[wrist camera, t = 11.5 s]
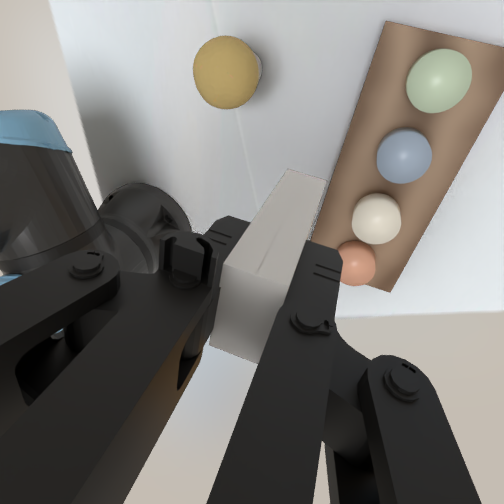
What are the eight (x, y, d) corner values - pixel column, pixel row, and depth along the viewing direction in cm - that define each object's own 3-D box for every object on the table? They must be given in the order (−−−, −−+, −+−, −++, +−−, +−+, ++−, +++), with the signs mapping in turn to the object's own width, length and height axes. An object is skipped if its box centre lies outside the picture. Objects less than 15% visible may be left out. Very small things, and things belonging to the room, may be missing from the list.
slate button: (369, 167, 38) (369, 175, 36) (388, 121, 35) (388, 127, 33) (415, 180, 37) (417, 189, 35) (438, 134, 35) (442, 141, 32)
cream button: (347, 225, 41) (345, 236, 39) (362, 187, 38) (361, 196, 36) (388, 238, 41) (389, 250, 38) (407, 201, 38) (409, 211, 36)
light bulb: (214, 47, 40) (171, 50, 32) (266, 26, 37) (234, 24, 29) (232, 105, 42) (197, 122, 34) (281, 89, 40) (256, 103, 32)
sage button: (396, 100, 34) (397, 105, 32) (420, 42, 31) (423, 43, 29) (448, 114, 33) (453, 119, 31) (477, 55, 31) (484, 57, 28)
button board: (306, 252, 50) (302, 263, 47) (385, 21, 34) (386, 20, 31) (389, 279, 48) (390, 292, 46) (514, 50, 32) (525, 52, 30)
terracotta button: (329, 266, 46) (327, 277, 44) (342, 235, 43) (340, 246, 41) (366, 279, 45) (366, 291, 43) (382, 248, 43) (382, 259, 40)
